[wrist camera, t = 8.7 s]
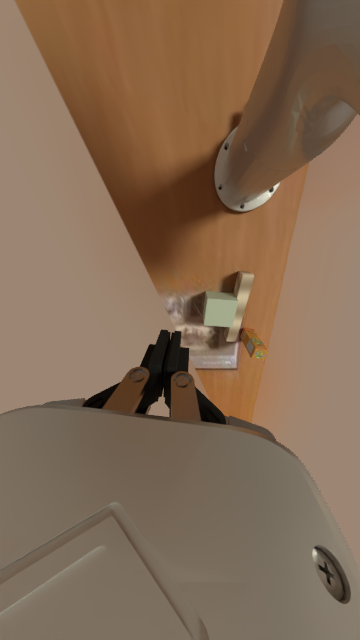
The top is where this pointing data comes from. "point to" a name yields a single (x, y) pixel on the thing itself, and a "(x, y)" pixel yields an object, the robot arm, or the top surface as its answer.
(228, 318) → the green block
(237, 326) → the birch board
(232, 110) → the top surface
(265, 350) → the supplement box
